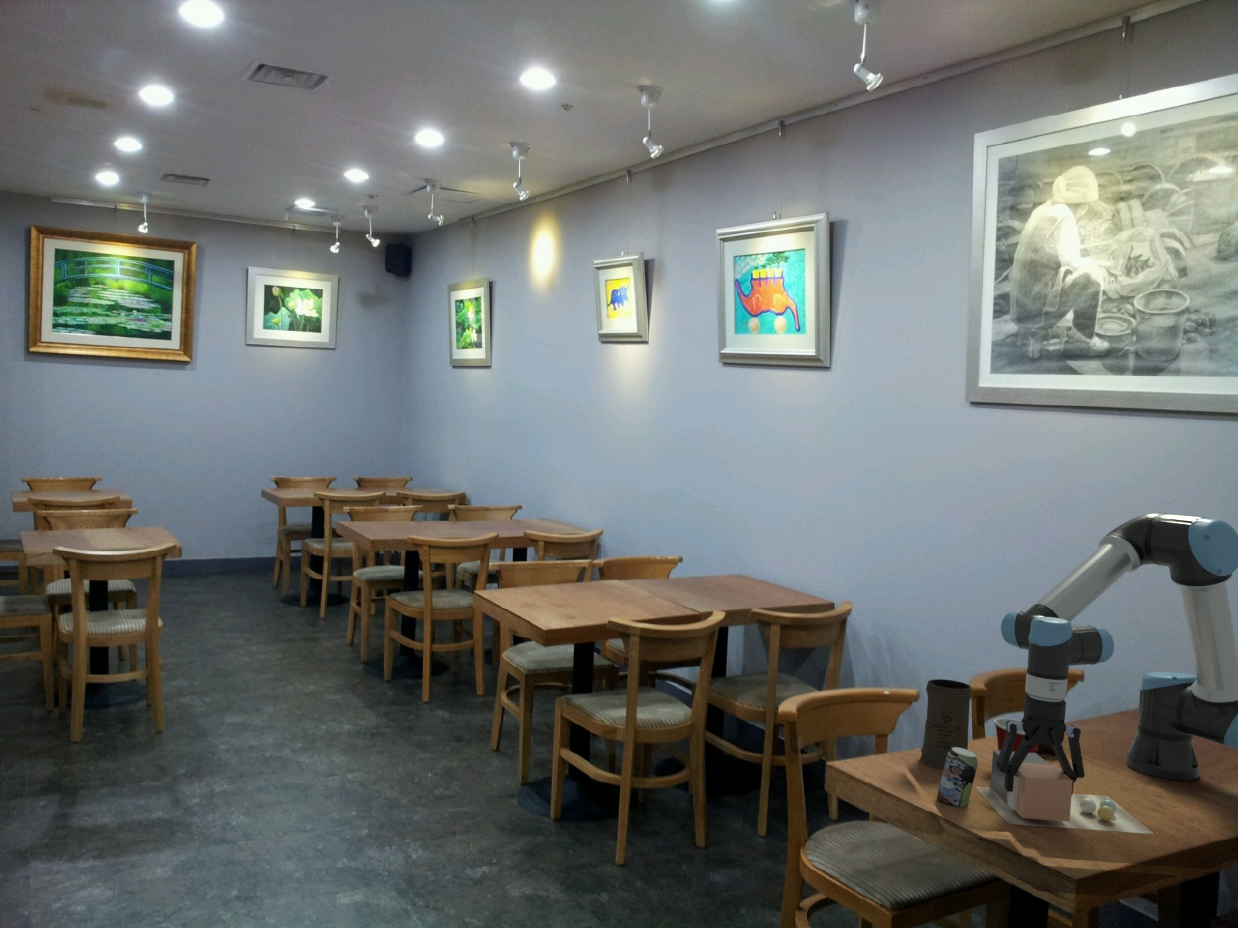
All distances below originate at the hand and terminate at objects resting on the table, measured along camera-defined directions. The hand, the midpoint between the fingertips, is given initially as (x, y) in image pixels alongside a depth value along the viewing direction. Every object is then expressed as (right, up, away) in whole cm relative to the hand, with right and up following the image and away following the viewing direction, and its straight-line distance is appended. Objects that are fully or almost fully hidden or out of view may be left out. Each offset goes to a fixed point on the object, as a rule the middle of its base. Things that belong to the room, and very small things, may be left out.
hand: (1037, 809), depth 197 cm
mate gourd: (+22, -3, +47) cm, 52 cm away
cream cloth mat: (+7, -3, +6) cm, 10 cm away
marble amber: (+14, -3, +1) cm, 14 cm away
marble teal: (+16, -3, +4) cm, 17 cm away
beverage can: (-14, -2, +7) cm, 16 cm away
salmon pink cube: (0, 0, 0) cm, 0 cm away
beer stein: (-8, -1, +33) cm, 34 cm away
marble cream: (+12, -2, +4) cm, 13 cm away
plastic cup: (+7, -3, +28) cm, 29 cm away
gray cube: (+1, -1, +12) cm, 12 cm away
